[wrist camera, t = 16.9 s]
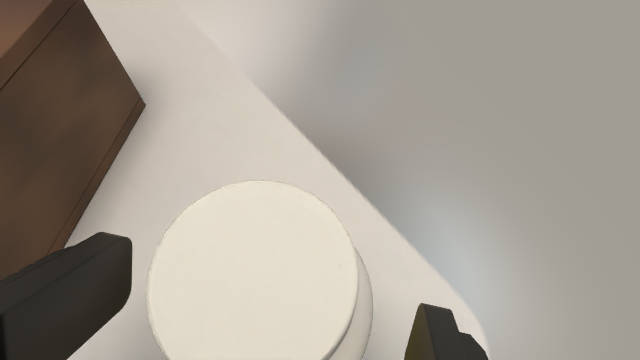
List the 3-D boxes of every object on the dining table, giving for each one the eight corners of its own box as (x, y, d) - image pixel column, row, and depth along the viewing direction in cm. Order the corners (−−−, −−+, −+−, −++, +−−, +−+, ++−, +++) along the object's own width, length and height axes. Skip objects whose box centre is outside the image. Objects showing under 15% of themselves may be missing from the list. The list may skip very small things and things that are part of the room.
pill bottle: (373, 310, 18) (441, 227, 9) (307, 441, 16) (299, 533, 6) (269, 248, 20) (228, 116, 10) (193, 358, 17) (38, 323, 7)
